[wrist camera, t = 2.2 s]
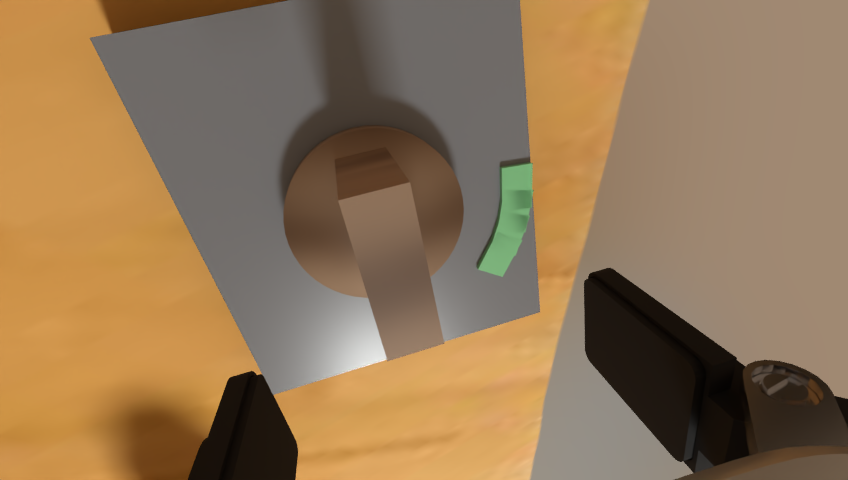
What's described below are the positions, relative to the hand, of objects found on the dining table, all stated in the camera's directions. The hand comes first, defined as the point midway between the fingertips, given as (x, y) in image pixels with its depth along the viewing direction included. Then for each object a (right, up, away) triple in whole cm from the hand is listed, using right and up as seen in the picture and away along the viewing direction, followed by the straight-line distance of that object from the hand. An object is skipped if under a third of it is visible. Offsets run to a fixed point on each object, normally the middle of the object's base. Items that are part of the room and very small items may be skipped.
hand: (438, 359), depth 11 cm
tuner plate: (-3, +6, +11) cm, 13 cm away
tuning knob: (-3, +3, +10) cm, 11 cm away
